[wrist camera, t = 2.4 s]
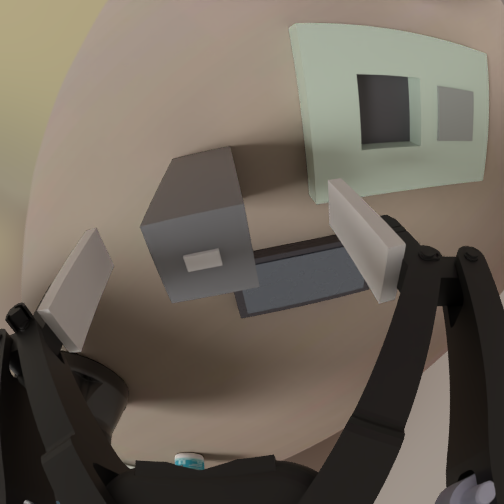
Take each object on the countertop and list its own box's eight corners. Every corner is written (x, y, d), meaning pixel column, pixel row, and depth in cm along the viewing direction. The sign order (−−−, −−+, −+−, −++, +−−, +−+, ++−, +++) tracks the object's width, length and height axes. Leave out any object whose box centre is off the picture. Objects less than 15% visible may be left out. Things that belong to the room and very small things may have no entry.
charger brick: (186, 210, 23) (171, 306, 14) (172, 159, 21) (138, 228, 11) (240, 198, 23) (260, 289, 14) (230, 146, 21) (244, 205, 11)
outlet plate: (309, 194, 24) (317, 205, 22) (288, 28, 16) (296, 22, 14) (471, 173, 24) (483, 181, 22) (473, 52, 16) (487, 53, 14)
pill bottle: (204, 452, 57) (208, 500, 46) (202, 459, 61) (205, 502, 50) (174, 450, 55) (175, 498, 44) (174, 457, 59) (176, 501, 48)
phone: (240, 310, 30) (241, 319, 29) (226, 256, 26) (226, 265, 25) (364, 282, 30) (369, 289, 29) (369, 228, 26) (375, 234, 25)
